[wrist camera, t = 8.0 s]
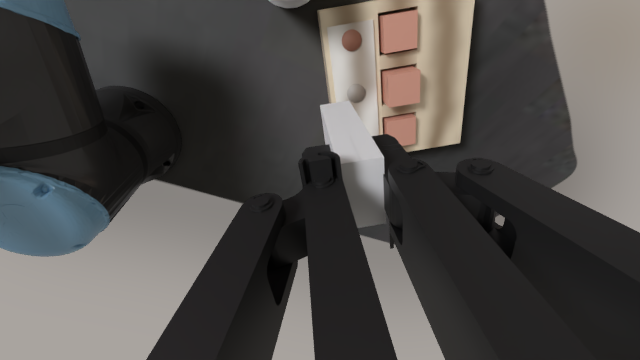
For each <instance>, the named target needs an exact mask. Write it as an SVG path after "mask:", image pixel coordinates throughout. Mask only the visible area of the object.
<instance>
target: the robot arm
mask: <svg viewBox="0 0 640 360" xmlns="http://www.w3.org/2000/svg"><path fill="white" fill-rule="evenodd" d="M80 40H81V38H80V35H79V33H78V32H76V31H75V29H74V26H73V23H72V21H71V18H70V15H69V13H68V10H67V7H66V5H65V2H64V0H0V248H3V249H5V250H8V251H11V252H15V253H19V254H24V255H31V256H59V255H65V254H69V253H72V252H75V251H77V250H79V249H81V248H83V247H84V246H86V245H87V244H88V243H90V242H91V241H92V240H93V239H94V238H95V237H96V236H97V235H98V233H100V232H102V231H103V230H104V229H105V228H107V226H108V225H109V223H110V222H111V221H112V219H113V218H114V217H115V216H116V214H117V213H118V212H119V211H120V209H121V208H122V207H123V206H124V205H125V203H126V202H127V201H128V200H129V198H130V197H131V196H132V195H133V194H134V192H135V191H136V190H137V189H138V187H139V186H140V185H141V184H143V183H146V182H148V181H151V180H153V179H156V178H158V177H160V176H162V175H163V174H164V173H166V172H167V171H168V170H169V169H170V168H171V167H172V165H173V164H174V163H175V161H176V160H177V158H178V156H179V154H180V150H181V135H180V131H179V128H178V126H177V124H176V122H175V120H174V118H173V117H172V115H171V114H170V113H169V111H168V110H167V109H166V108H165V107H164V106H163V105H162V104H161V103H159V102H158V101H157V100H155V99H154V98H153V97H151V96H149V95H147V94H146V93H144V92H141V91H139V90H136V89H133V88H129V87H123V86H109V87H103V88H100V89H98V90H95V88H94V85H93V82H92V79H91V76H90V73H89V70H88V67H87V64H86V61H85V58H84V55H83V52H82V49H81V46H80V43H79V41H80ZM320 108H321V115H322V122H323V130H324V137H325V144H326V145H321V146H315V147H309V148H306V149H305V151H304V152H303V153H302V158H301V159H300V160H299V163H298V164H299V169H300V174H301V179H302V184H303V189H302V190H301V191H300V192H299V193H298V194H296V195H295V196H293V197H291V198H289V199H286V200H282V198H281V197H280V196H279V195H276V194H272V193H265V194H259V195H256V196H253V197H252V198H250V199H248V200H247V201H245V203H244V204H243V205H242V206H241V208H240V209H239V211H238V212H237V214H236V216H235V217H234V219H233V220H232V222H231V224H230V225H229V227H228V228H227V230H226V232H225V233H224V235H223V237H222V238H221V240H220V241H219V243H218V245H217V246H216V248H215V250H214V251H213V253H212V254H211V256H210V258H209V259H208V261H207V263H206V264H205V266H204V267H203V269H202V271H201V272H200V274H199V275H198V277H197V279H196V280H195V282H194V283H193V285H192V287H191V289H190V290H189V292H188V293H187V295H186V296H185V298H184V300H183V301H182V303H181V304H180V306H179V308H178V309H177V311H176V312H175V314H174V316H173V317H172V319H171V321H170V322H169V324H168V325H167V327H166V329H165V330H164V332H163V334H162V335H161V337H160V338H159V340H158V342H157V343H156V345H155V347H154V348H153V350H152V351H151V353H150V354H149V356H148V358H147V359H146V360H272V356H273V352H274V349H275V345H276V342H277V338H278V334H279V331H280V327H281V323H282V320H283V316H284V313H285V309H286V306H287V302H288V298H289V295H290V291H291V287H292V284H293V280H294V277H295V273H296V269H297V265H298V260H299V259H301V258H304V257H306V256H308V267H309V282H310V296H311V309H312V324H313V338H314V352H315V360H397V357H396V353H395V350H394V347H393V344H392V340H391V337H390V334H389V331H388V327H387V324H386V321H385V317H384V314H383V311H382V308H381V304H380V301H379V298H378V294H377V291H376V288H375V284H374V281H373V278H372V274H371V272H370V268H369V265H368V262H367V258H366V255H365V252H364V248H363V245H362V242H361V238H360V235H359V232H358V228H360V227H366V226H373V225H379V224H385V223H386V213H387V215H388V218H389V226H390V248H394V242H395V245H396V247H397V249H398V252H399V254H400V256H401V258H402V261H403V263H404V265H405V268H406V270H407V272H408V275H409V277H410V279H411V281H412V284H413V286H414V289H415V291H416V293H417V295H418V298H419V300H420V302H421V305H422V307H423V309H424V311H425V314H426V316H427V319H428V321H429V323H430V325H431V328H432V330H433V332H434V334H435V337H436V339H437V342H438V344H439V346H440V348H441V351H442V353H443V355H444V358H445V360H640V233H639V232H637V231H635V230H633V229H631V228H629V227H627V226H625V225H623V224H621V223H619V222H617V221H615V220H613V219H611V218H609V217H607V216H604V215H603V214H601V213H599V212H596V211H595V210H593V209H590V208H588V207H587V206H585V205H582V204H580V203H579V202H576V201H574V200H572V199H570V198H568V197H566V196H564V195H562V194H560V193H558V192H556V191H554V190H552V189H550V188H548V187H546V186H544V185H542V184H540V183H538V182H536V181H534V180H532V179H530V178H528V177H526V176H524V175H522V174H520V173H518V172H516V171H514V170H512V169H510V168H508V167H506V166H504V165H502V164H500V163H497V162H495V161H492V160H488V159H483V158H471V159H466V160H463V161H461V162H459V163H458V165H457V167H456V173H452V172H434V171H433V169H432V168H431V167H430V166H429V165H428V164H427V163H425V162H424V161H421V160H417V159H412V158H411V157H410V156H409V154H408V153H407V152H406V151H405V149H404V148H403V147H402V146H401V144H399V142H398V141H397V139H396V138H395V137H393V136H390V135H388V134H383V135H377V136H371V135H370V133H369V132H368V130H367V129H366V127H365V125H364V124H363V122H362V121H361V119H360V117H359V116H358V114H357V112H356V111H355V109H354V108H353V106H352V104H351V103H350V101H343V102H337V103H331V104H325V105H320ZM496 212H497V213H499V214H500V215H502V216H503V217H505V221H504V225H503V226H500V225H498V224H497V223H495V222H494V221H495V217H496Z"/></svg>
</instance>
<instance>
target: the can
mask: <svg viewBox="0 0 640 360" xmlns="http://www.w3.org/2000/svg"><path fill="white" fill-rule="evenodd" d="M268 1H270V2H271V3H273V4H274V5H276V6H280V7H283V8H297V7H299V6H301V5H304V4H306V3H308V2H309V1H310V0H268Z"/></svg>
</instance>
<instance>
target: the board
mask: <svg viewBox="0 0 640 360" xmlns="http://www.w3.org/2000/svg"><path fill="white" fill-rule="evenodd" d="M474 3H475V0H373V1H367V2H361V3H356V4H350V5H344V6H339V7H333V8H327V9H322V10H317V15H318V22H319V30H320V37H321V44H322V52H323V59H324V66H325V74H326V81H327V89H328V96H329V103H330V104H331V103H337V102H343V101H350V103H351V104H352V106H353V108H354V109H355V111H356V112H357V114H358V116H359V117H360V119H361V121H362V122H363V124H364V125H365V127H366V129H367V130H368V132H369V133H370V135H371V136H377V135H383V123H382V117H388V116H394V115H400V114H406V113H412V114H413V115H414V116H415V117H416V143H415V144H411V145H405V146H402V147H403V148H404V149H405V151H406V152H410V151H416V150H422V149H428V148H434V147H440V146H445V145H451V144H457V143H460V140H461V130H462V120H463V110H464V100H465V91H466V81H467V71H468V61H469V52H470V42H471V32H472V22H473V12H474ZM405 10H418V29H417V48H414V49H408V50H403V51H397V52H391V53H385V54H384V53H382V52H380V51H379V31H378V15H382V14H388V13H393V12H399V11H405ZM405 66H413V67H415V68H417V69H419V70H421V74H420V103H414V104H408V105H403V106H397V107H391V108H389V107H388V106H387V105H386V104H385V103H384V102H383V101H382V84H381V71H382V70H388V69H393V68H399V67H405Z"/></svg>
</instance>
